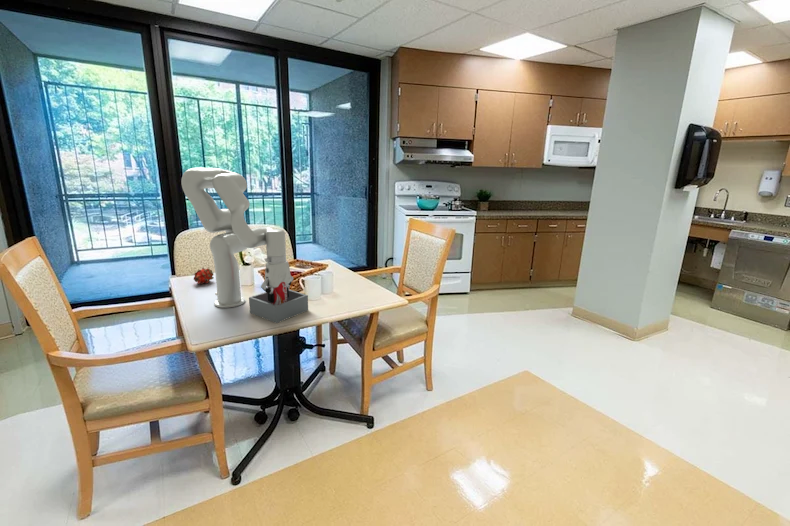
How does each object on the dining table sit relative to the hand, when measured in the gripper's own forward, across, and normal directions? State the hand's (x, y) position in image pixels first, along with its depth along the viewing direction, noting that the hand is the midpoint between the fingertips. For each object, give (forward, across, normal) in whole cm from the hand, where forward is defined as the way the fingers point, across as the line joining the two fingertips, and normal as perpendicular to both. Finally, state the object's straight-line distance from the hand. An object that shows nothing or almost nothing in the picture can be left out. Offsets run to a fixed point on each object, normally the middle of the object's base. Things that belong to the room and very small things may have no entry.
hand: (278, 299), depth 155 cm
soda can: (+3, 0, 0) cm, 3 cm away
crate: (+6, 0, 0) cm, 6 cm away
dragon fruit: (+6, +1, +60) cm, 60 cm away
